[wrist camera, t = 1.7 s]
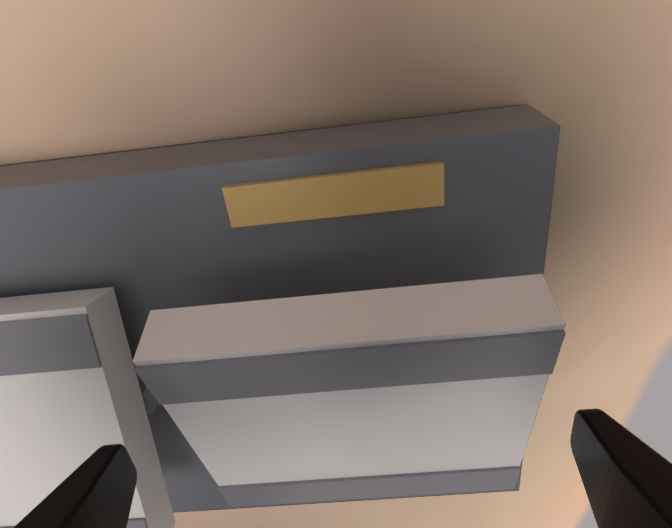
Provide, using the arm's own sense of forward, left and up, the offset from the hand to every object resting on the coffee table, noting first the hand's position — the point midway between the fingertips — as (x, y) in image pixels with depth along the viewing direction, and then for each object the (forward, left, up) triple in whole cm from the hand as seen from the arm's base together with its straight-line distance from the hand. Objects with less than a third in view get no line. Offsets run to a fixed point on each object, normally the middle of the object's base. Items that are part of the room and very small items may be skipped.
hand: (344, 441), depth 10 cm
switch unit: (-4, +6, -8) cm, 11 cm away
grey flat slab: (-4, 0, -4) cm, 5 cm away
